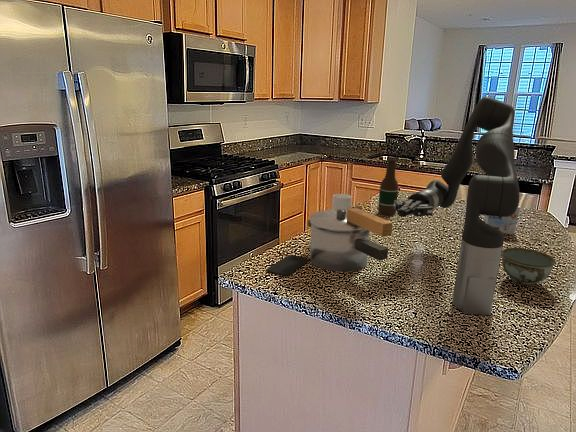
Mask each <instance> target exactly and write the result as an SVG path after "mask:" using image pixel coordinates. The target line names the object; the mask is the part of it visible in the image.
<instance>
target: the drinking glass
mask: <svg viewBox="0 0 576 432" xmlns="http://www.w3.org/2000/svg"><path fill="white" fill-rule="evenodd" d="M331 201H332V203H331V210H339V209H342V210H347V209H350V208H352V195H350V194H346V193H336V194H335V193H334V194H333V195H332V200H331Z"/></svg>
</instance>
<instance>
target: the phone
mask: <svg viewBox="0 0 576 432" xmlns="http://www.w3.org/2000/svg"><path fill="white" fill-rule="evenodd" d="M308 262H310V258H308V257H303V256H298V255H294V254H289V255H286V256H285V257H284V258H282V259H280V260H279V261H277V262H275V263H274V264H273V265H271V266H270V267H268V268H267V269H266V272H267V273H270V274H274V275H276V276H277V275H278V276H281V277H289V276H291V275H292V274H294V273H295V272H297V270H299V269H301V268H302V267H304V266H305V264H307V263H308Z"/></svg>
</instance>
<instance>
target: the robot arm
mask: <svg viewBox="0 0 576 432" xmlns="http://www.w3.org/2000/svg"><path fill="white" fill-rule="evenodd" d="M515 112H516V111H515V108H514V106H512V105H510V104H509V103H506V102H504V101H502V100H500V99H499V100H498V99H496V98H494V97H491V96H488V95H487V96H483V97H482V98H481V99H479V100H478V102H477V104H476V105H475V106H474V109H473V110H472V112H471V114H470V116H469V118H468V119H467V120H468V121H467V123H466V124H465V127H464V128H463V131H462V133H461V135H460V137H459V140H458V142H457V144H456V146H455V148H454V151H453V152H452V155H451V156H450V158H449V160H448V161H447V162H446V164H445V166H444V168H443V169H442V171H441V173H440V176H441V179H442V180H443V181H444V182H445V183H446V184H445V183H443V182H442V181H440V180H437V179H433V180H431V181H430V182H429V183H428V184H427V185H426V188H425V189H422V190H420V191H417V192H414V193H413V194H411V195H410V196H409V197H408V198H407V200H402V202H401V201H399V200H398V199H397V200H394V209H395V210H396V213H397V215H398V217H402V218H406V217H408V216H414V217H424V216H425V217H427V216H429V217H431V216H433V214H434V210H435V209H437V208H438V207H440V208H442V209H447V208H450V207H451V206H452V205H454V203H455V201H456V199H457V196H458V193H459V192H458V191H459V188H460V185H461V183H462V181H463V179H464V178H465V177H466V175H467V174H468V172H469V171H470V168H471V167H472V164H473V160H474V159H473V158H474V156H473V155H474V150H473V139H474V138H473V137H474V134H475V132H476V129H477V128H479V129H481V130H484V131H486V132H484V133H483V134H482V135H481V136H480V137H479V139H478V140H477V143H476V147H475V148H476V151H475V161H476V163H477V165H478V166H479V168H480V169H481V171H483V172H484V173H485V174H486V175H485V174H484V175H483V174H476V175H474V176H472V177H471V179H470V181H469V182H468V187H467V196H466V205H465V216H464V223H463V229H462V235H461V241H460V242H461V243H460V247H459V255H458V262H457V267H456V274H455V281H454V287H453V293H452V294H453V295H452V300H451V302H452V305H454V307H456V308H457V309H459V310H461V311H462V313H463V314H470V315H482V316H491V311H492V308H493V304H494V298H495V292H496V286H497V280H498V274H499V270H500V264H501V260H502V250H504V248H503V247H504V242H505V233H503V232H502V231H500V230H499V229H497V228H495V227H492V226H490V225H488V224H487V223H485V222H484V220H483V219H482V218H481V217H480V216H481V215H484V216H485V215H489V216H498V217H509V216H511V215H513V214H514V213H515V212H516V210H517V208H518V207H519V203H520V197H521V196H520V195H521V194H520V187H519V181H518V176H517V172H516V169H515V167H516V166H515V145H514V144H515V143H514V132H513V131H514V123H515Z"/></svg>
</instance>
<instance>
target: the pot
mask: <svg viewBox="0 0 576 432" xmlns="http://www.w3.org/2000/svg"><path fill="white" fill-rule="evenodd" d="M307 227H310V245H309V246H310V249H309V262H310V263H312V265H314V266H316V267H318V268H321V269H323V270H326V271H332V272H339V273H340V272H343V273H344V272H345V273H346V272H347V273H348V272H355V271H356V272H357V271H359V270H362V269H364V268H365V267H366V266H367V265H368V261H369V258H368V257H370V258H373V259H375V260H376V261H384V260H387V259H388V257H389V256H388V255H389V248H388V247H386V246H383V245H381V244H379V243H377V242H374V241H373V240H370V234H371V231H368V230H366V231H363V232H357V233H336V232H329V231H325V230H321V229H318V228H316V227H314V226H312V225H311V223H310V219H308V221H307Z"/></svg>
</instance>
